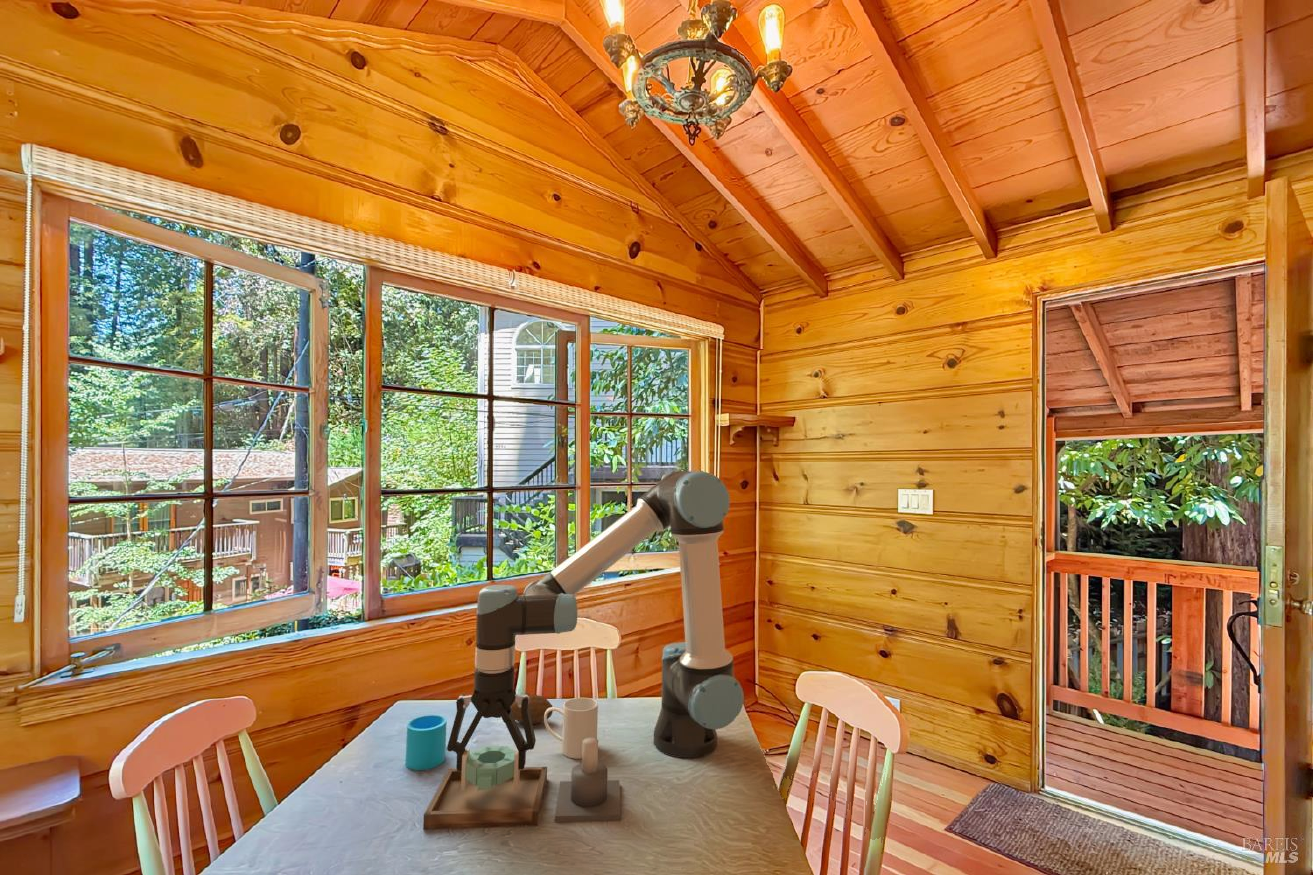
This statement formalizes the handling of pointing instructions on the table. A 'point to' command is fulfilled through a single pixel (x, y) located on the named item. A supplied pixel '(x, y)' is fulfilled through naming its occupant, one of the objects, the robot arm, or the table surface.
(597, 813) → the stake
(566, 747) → the mug
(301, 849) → the table surface
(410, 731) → the mug
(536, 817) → the tray
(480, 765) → the ring
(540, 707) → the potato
